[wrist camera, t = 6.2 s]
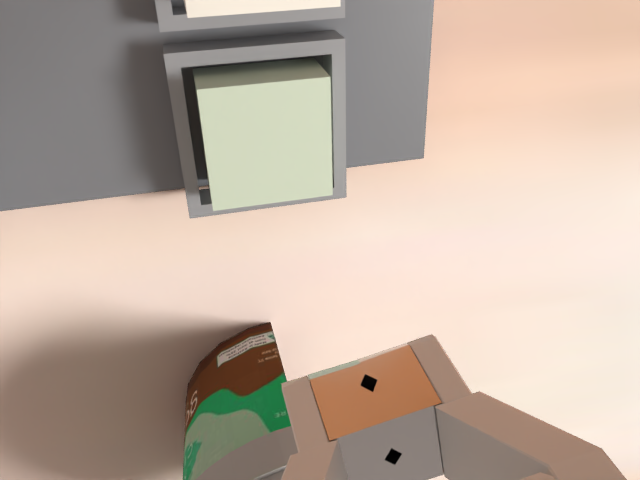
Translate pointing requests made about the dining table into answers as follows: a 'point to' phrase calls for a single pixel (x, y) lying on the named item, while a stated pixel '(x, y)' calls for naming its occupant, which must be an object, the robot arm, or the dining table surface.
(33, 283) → the dining table surface
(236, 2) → the cream key
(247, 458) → the food container
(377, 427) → the robot arm
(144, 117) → the keypad base
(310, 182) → the sage key
